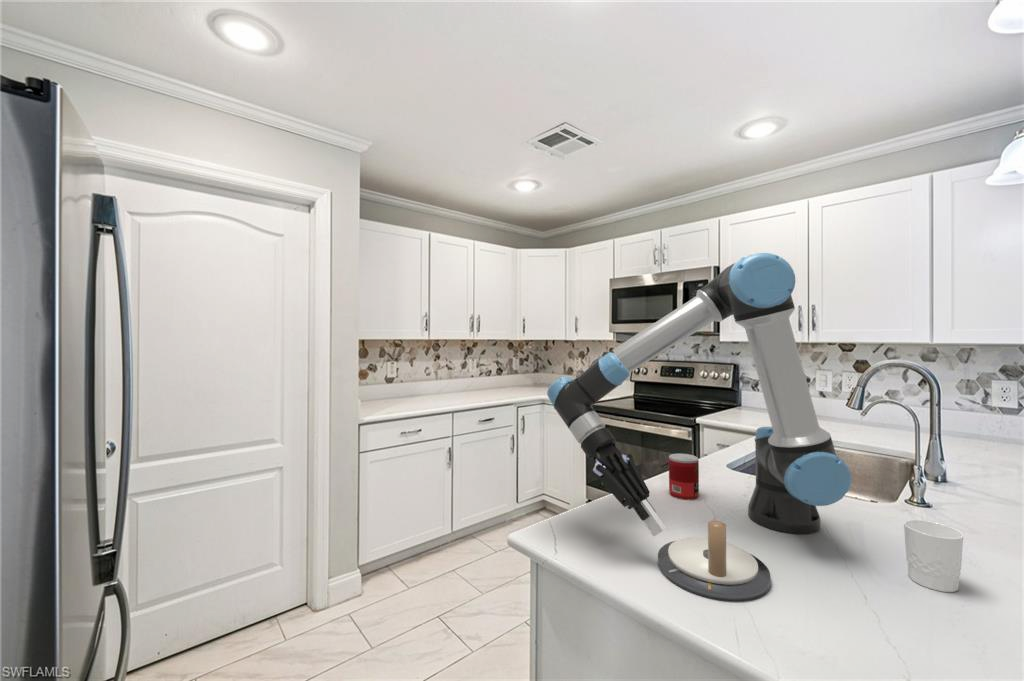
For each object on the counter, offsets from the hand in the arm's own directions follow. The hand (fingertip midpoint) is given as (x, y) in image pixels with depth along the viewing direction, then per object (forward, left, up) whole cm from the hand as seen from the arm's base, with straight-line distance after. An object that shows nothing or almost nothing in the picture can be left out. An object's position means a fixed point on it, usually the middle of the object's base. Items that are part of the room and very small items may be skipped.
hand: (660, 532), depth 88 cm
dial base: (-10, +1, -7) cm, 12 cm away
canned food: (-14, -40, -7) cm, 43 cm away
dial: (-10, +1, -5) cm, 11 cm away
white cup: (-49, 0, -7) cm, 49 cm away
